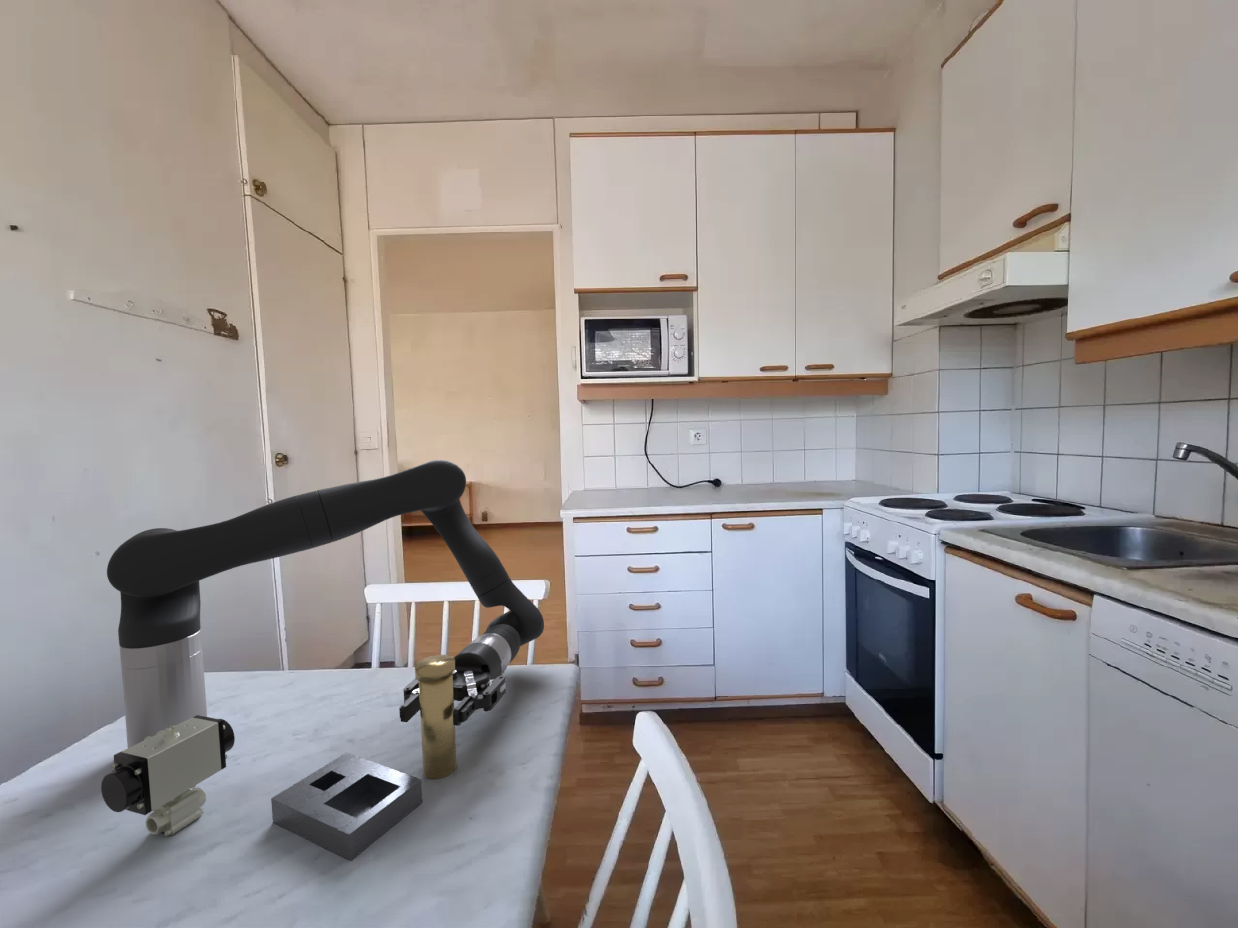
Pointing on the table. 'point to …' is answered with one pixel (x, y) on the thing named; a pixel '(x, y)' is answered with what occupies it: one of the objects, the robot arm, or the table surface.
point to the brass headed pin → (437, 715)
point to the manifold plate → (347, 804)
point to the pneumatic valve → (169, 773)
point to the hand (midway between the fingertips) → (429, 717)
